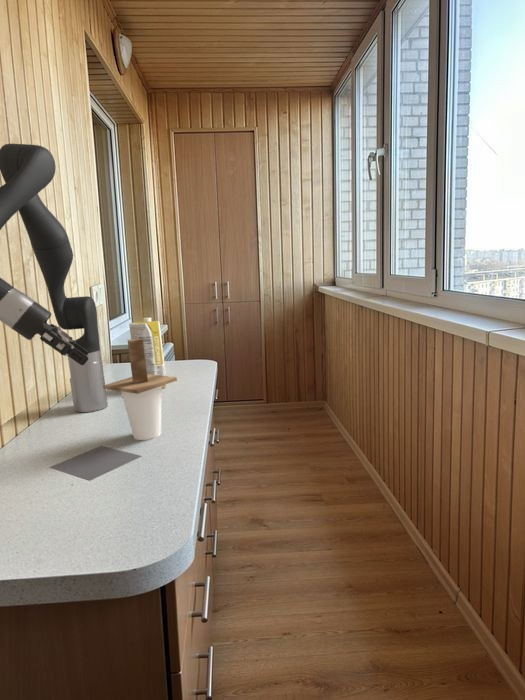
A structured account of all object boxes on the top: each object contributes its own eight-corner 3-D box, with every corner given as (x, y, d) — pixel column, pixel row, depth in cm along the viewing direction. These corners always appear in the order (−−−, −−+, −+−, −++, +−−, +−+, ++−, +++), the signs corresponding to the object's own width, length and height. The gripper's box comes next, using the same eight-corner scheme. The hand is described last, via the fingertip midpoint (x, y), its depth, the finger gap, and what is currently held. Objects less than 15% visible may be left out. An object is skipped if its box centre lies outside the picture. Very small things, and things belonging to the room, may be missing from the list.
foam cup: (157, 444, 111) (150, 389, 109) (120, 444, 113) (113, 390, 111) (173, 429, 120) (167, 379, 118) (138, 429, 122) (132, 380, 120)
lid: (103, 388, 113) (97, 343, 111) (143, 376, 122) (138, 334, 120) (137, 393, 106) (131, 345, 104) (177, 380, 115) (172, 336, 113)
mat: (49, 468, 101) (49, 467, 101) (101, 447, 112) (101, 445, 112) (90, 482, 93) (89, 480, 93) (142, 457, 104) (141, 455, 104)
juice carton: (170, 386, 164) (162, 316, 159) (153, 393, 157) (145, 319, 153) (150, 384, 169) (142, 316, 164) (133, 390, 162) (124, 319, 158)
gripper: (30, 301, 97) (97, 350, 103) (36, 298, 110) (96, 342, 116) (5, 330, 96) (74, 378, 102) (14, 324, 110) (75, 366, 115)
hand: (86, 358), depth 109 cm, fingers open, 8 cm apart
